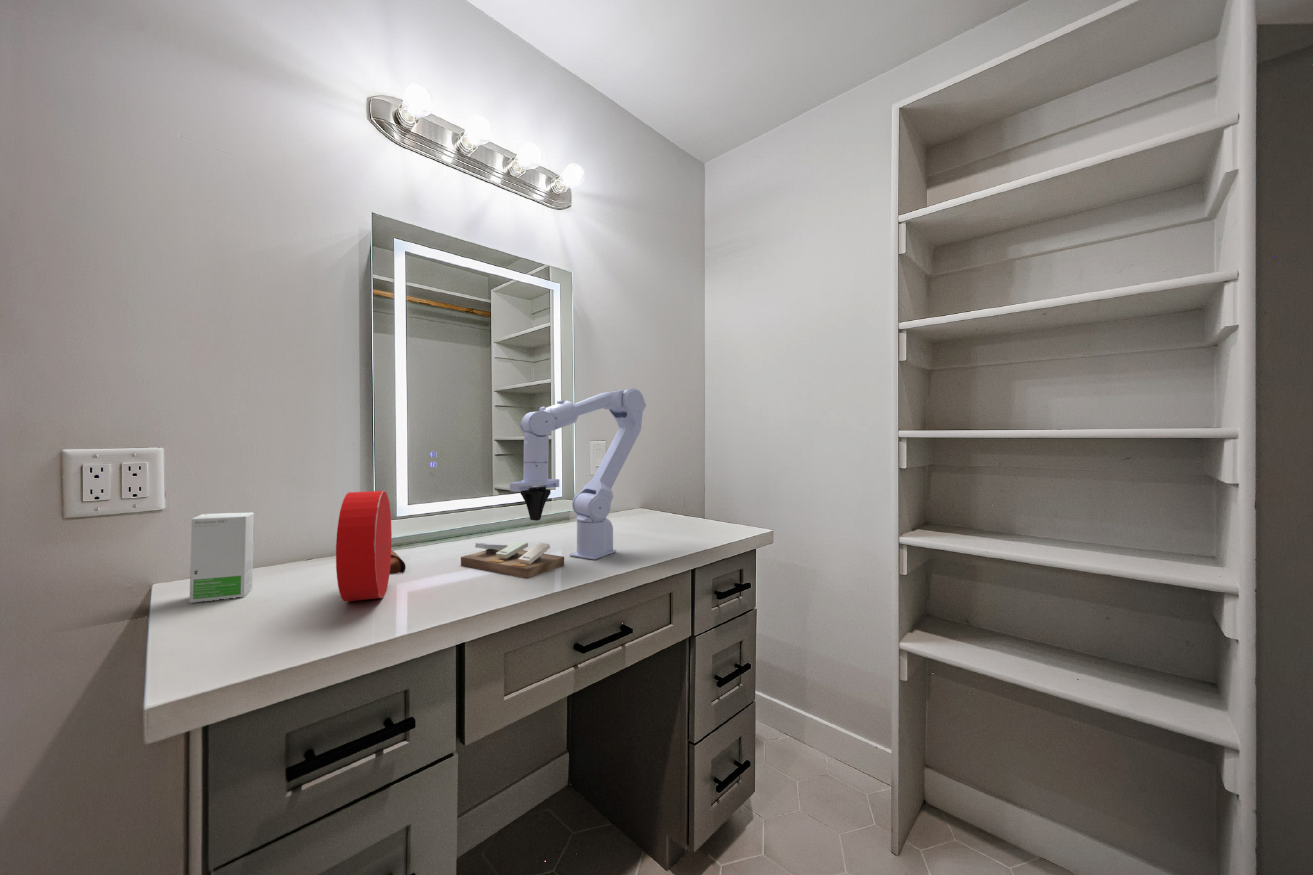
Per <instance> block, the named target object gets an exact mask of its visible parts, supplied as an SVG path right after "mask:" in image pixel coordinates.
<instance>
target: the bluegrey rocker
mask: <svg viewBox="0 0 1313 875" xmlns="http://www.w3.org/2000/svg"><path fill="white" fill-rule="evenodd" d="M474 546H475V548H478V549H483V550H486V549H504V548H506V547H508V545H507V544H502V543H488V542H487V543H486V542H485V543H482V542H476V543H475V545H474Z"/></svg>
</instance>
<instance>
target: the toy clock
mask: <svg viewBox="0 0 1313 875" xmlns="http://www.w3.org/2000/svg"><path fill="white" fill-rule="evenodd" d="M341 503H342V504H341V507H340V510H339V516H338V522H337V530H336V541H335V543H336V544H335V571H336V580H337V587H338V592H339V595H340V597H341V599H342V601H344V602H345V603H346V602H353V601H354V602H356V601H364V600H373V599H383V598H384V597H385V596H386V593H387V590H388V586H389V579H390V574H389V573H390V563H391V550H392V514H391V504H390V498H389V495H388V493H387V491H386V490H377V491H376V490H374V491H373V490H372V491H354V492H352V491H349V492H347V493H346V494H345V496H344V498H343V500H342V502H341Z"/></svg>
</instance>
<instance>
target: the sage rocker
mask: <svg viewBox="0 0 1313 875" xmlns="http://www.w3.org/2000/svg"><path fill="white" fill-rule="evenodd" d="M528 547H529V543H528V541H519V540H517V541H515V542H513V543H512V544H510V545H507V547H506V548H504V549H502V550H500V551H499V552H497V553H496V557H499V558H504V559H507V558H509V557H511V556H512V555H514V554H516V553H518V552H519V551H521V550H525V549H526V548H528Z"/></svg>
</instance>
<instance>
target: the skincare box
mask: <svg viewBox="0 0 1313 875" xmlns="http://www.w3.org/2000/svg"><path fill="white" fill-rule="evenodd" d="M254 520H255V512H221V513H202V514H200V515H198V516H195V517H193V518H191V534H190V539H191V540H190V541H191V542H190V566H189V567H190V568H189V570H190V571H189V572H190V574H189V603H190V604H194V603H202V602H203V601H204V602H213V600H214V601H220V600H219V599H224V600H230V599H229V598H233V599H235V598H234V597H244V596H245V595H246V594H249V593H250V591H251V590H252V589H253V569H254V566H253V564H254V563H253V562H254V531H255V530H254V529H255V528H254V525H255V521H254ZM251 588H252V589H251ZM250 589H251V590H250ZM249 590H250V591H249ZM246 596H247V595H246ZM246 596H245V597H246ZM245 597H244V598H245Z"/></svg>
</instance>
